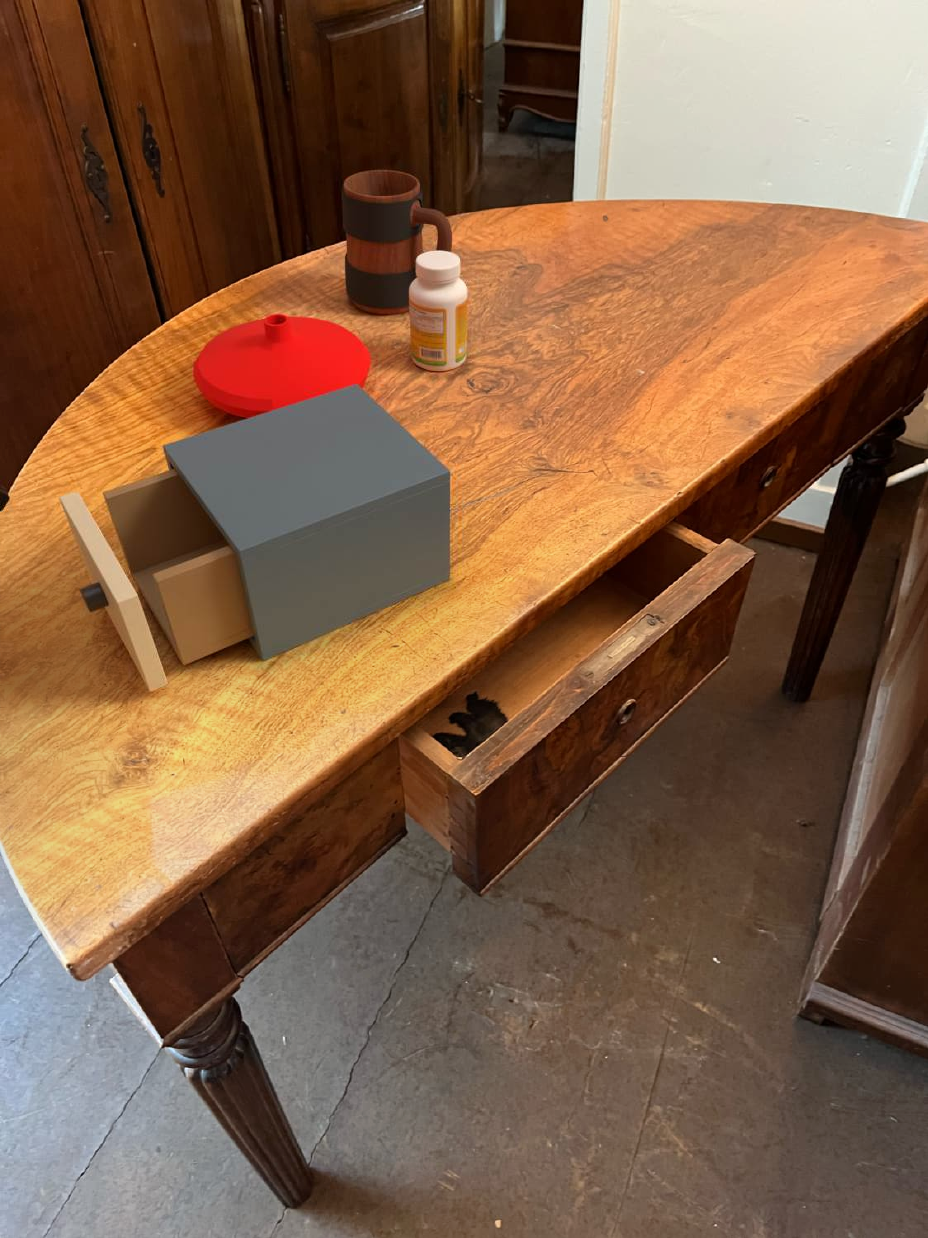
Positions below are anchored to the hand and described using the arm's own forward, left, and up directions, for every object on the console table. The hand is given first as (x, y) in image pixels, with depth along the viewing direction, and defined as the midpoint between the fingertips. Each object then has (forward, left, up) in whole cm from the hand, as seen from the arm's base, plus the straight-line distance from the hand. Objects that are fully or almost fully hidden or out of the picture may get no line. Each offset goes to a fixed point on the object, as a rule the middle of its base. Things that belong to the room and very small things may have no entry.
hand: (5, 500), depth 48 cm
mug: (+51, +21, -14) cm, 57 cm away
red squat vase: (+31, +16, -14) cm, 37 cm away
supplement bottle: (+45, +10, -14) cm, 48 cm away
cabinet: (+17, -4, -13) cm, 22 cm away
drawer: (+9, -2, -13) cm, 16 cm away
